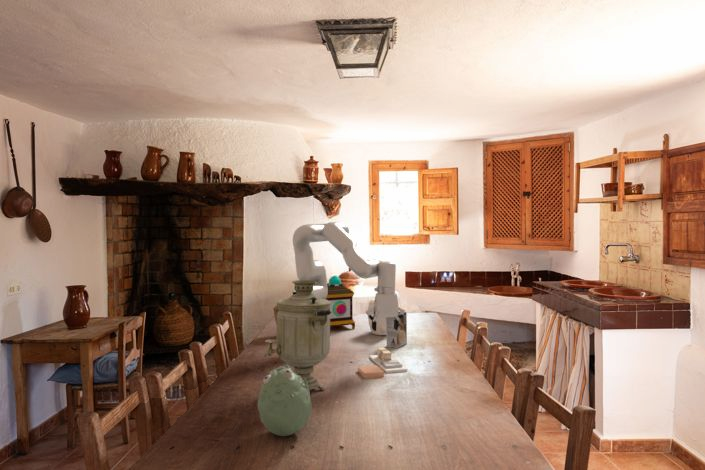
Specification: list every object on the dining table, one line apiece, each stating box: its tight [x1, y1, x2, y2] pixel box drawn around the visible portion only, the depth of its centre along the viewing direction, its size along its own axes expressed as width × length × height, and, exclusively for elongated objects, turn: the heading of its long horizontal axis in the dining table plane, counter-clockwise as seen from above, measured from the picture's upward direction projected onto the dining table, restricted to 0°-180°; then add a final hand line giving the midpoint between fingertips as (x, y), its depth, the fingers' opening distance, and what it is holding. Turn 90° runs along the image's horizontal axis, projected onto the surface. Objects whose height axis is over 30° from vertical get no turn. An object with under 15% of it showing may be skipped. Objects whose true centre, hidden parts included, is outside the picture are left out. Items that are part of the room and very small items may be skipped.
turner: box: [377, 346, 403, 368], centre depth 224 cm, size 18×7×4 cm, turn 15°
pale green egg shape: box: [257, 364, 313, 437], centre depth 153 cm, size 16×19×20 cm
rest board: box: [368, 354, 408, 374], centre depth 224 cm, size 9×24×1 cm, turn 15°
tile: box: [357, 364, 385, 379], centre depth 211 cm, size 8×2×10 cm
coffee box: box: [386, 311, 408, 349], centre depth 257 cm, size 9×6×16 cm
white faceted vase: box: [367, 297, 387, 336], centre depth 281 cm, size 16×27×19 cm, turn 7°
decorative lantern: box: [326, 275, 356, 330], centre depth 298 cm, size 20×20×30 cm
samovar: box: [262, 279, 332, 392], centre depth 190 cm, size 30×26×40 cm
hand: (385, 329), depth 225 cm, fingers open, 9 cm apart
